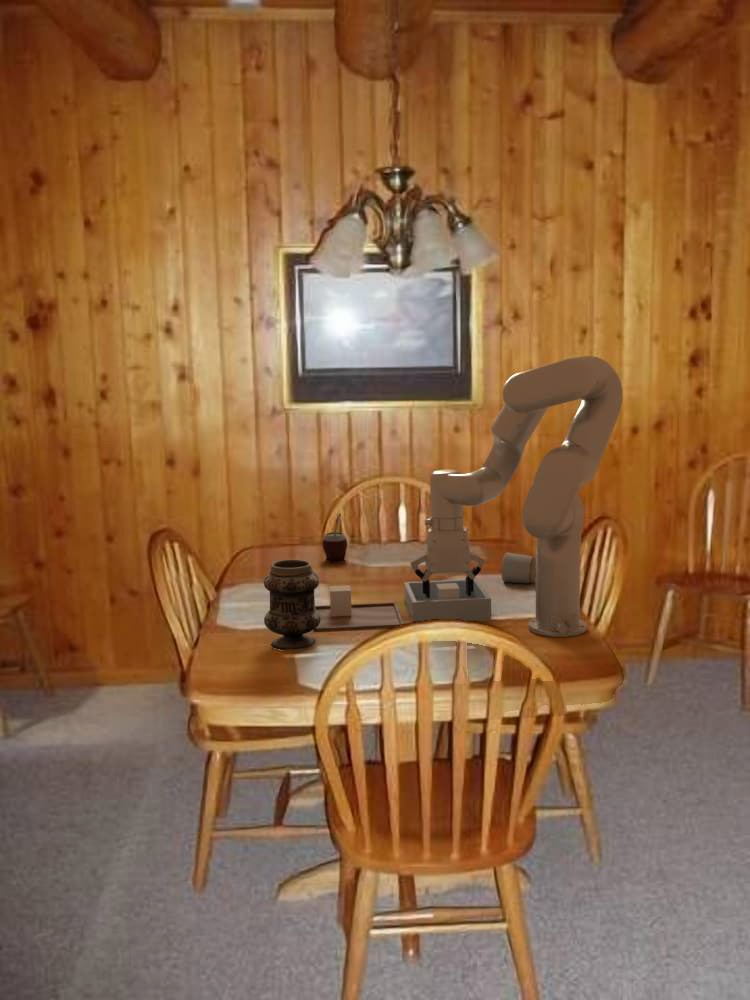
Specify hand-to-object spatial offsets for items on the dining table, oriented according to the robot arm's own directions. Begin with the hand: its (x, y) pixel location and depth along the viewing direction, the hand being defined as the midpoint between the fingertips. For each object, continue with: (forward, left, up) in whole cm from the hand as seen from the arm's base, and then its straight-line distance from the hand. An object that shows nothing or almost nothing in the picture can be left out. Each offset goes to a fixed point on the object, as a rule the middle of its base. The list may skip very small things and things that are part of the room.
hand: (448, 595), depth 228 cm
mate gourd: (+58, +24, -5) cm, 63 cm away
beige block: (0, 0, -4) cm, 4 cm away
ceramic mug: (+27, -23, -5) cm, 36 cm away
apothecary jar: (-17, +36, -5) cm, 40 cm away
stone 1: (+3, +25, -4) cm, 25 cm away
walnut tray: (-1, +22, -4) cm, 22 cm away
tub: (+3, 0, -4) cm, 5 cm away
